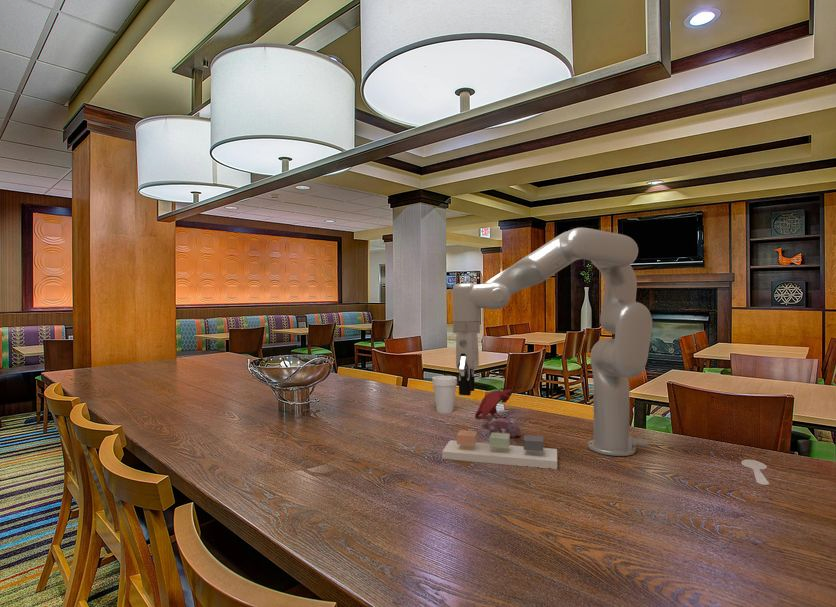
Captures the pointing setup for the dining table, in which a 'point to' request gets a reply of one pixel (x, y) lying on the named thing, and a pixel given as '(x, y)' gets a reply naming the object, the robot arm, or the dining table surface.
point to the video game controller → (504, 426)
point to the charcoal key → (533, 442)
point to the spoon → (756, 470)
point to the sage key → (499, 440)
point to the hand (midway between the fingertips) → (466, 392)
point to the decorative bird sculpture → (492, 402)
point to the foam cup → (444, 393)
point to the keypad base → (501, 455)
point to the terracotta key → (467, 437)
